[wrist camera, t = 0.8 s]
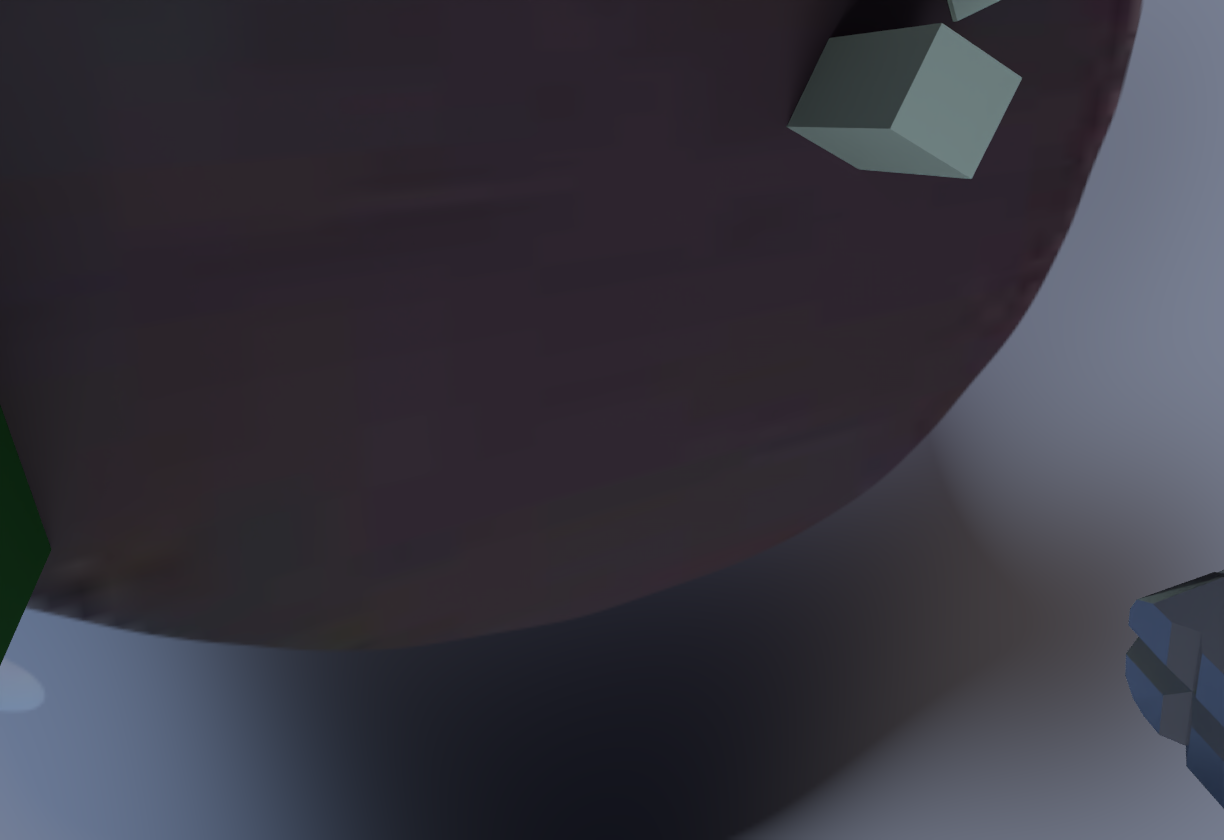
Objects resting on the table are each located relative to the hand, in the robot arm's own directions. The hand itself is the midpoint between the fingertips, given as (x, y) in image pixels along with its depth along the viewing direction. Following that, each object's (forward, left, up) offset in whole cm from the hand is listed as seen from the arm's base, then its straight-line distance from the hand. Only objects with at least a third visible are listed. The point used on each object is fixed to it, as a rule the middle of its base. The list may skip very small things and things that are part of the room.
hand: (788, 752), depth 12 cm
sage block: (+3, +26, -44) cm, 52 cm away
